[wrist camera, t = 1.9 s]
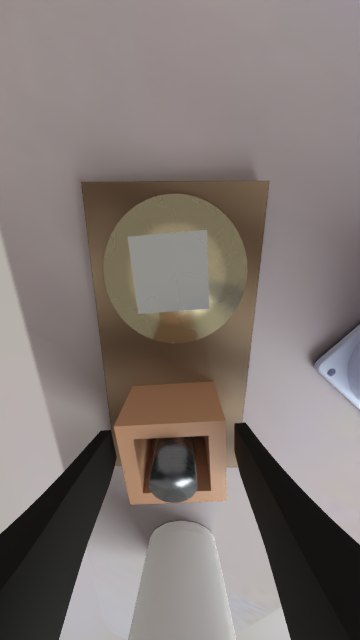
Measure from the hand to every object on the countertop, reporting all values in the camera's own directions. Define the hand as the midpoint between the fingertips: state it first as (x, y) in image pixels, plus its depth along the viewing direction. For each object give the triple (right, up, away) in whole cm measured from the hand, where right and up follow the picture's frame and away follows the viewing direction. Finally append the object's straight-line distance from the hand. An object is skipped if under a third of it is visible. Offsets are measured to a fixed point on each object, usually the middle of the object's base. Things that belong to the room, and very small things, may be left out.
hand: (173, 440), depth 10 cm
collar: (0, 0, +2) cm, 2 cm away
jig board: (0, +5, +1) cm, 5 cm away
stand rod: (0, +1, +3) cm, 3 cm away
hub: (0, +10, 0) cm, 10 cm away
